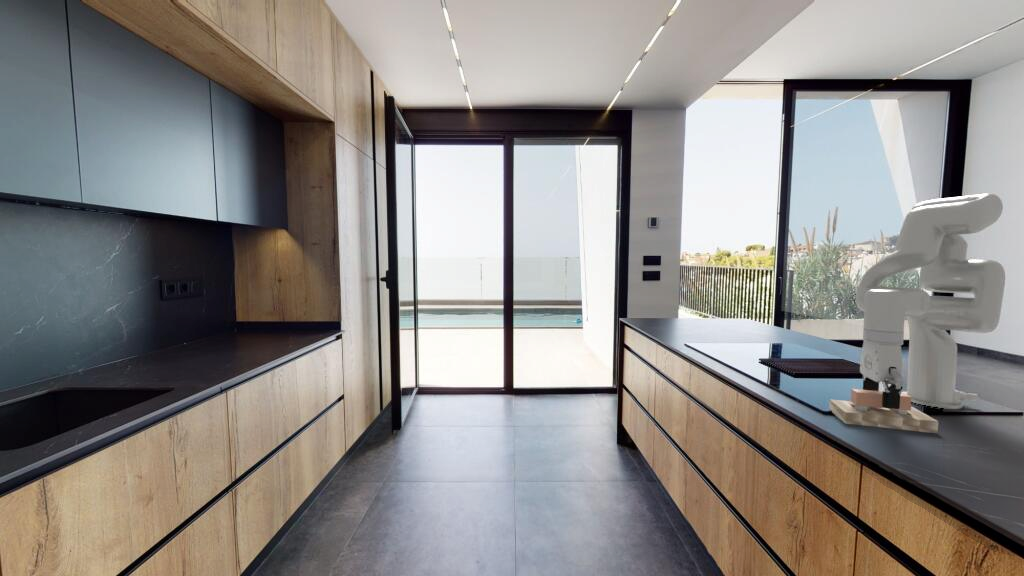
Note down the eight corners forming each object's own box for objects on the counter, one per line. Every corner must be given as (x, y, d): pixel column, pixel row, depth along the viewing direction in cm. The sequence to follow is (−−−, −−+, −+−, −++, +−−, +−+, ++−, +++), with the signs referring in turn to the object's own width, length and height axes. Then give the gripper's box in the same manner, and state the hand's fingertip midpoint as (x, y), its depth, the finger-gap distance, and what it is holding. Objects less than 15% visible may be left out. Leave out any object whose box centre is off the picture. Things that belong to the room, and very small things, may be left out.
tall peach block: (903, 421, 100) (904, 393, 99) (910, 425, 97) (911, 396, 96) (850, 415, 104) (851, 388, 103) (855, 420, 101) (856, 392, 100)
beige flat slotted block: (912, 417, 102) (912, 406, 101) (937, 433, 92) (938, 421, 92) (829, 409, 108) (829, 399, 108) (845, 423, 99) (845, 412, 99)
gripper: (849, 330, 108) (847, 389, 109) (882, 342, 92) (879, 411, 93) (883, 331, 106) (880, 392, 107) (923, 344, 90) (919, 415, 91)
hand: (880, 401), depth 100 cm, fingers open, 9 cm apart
